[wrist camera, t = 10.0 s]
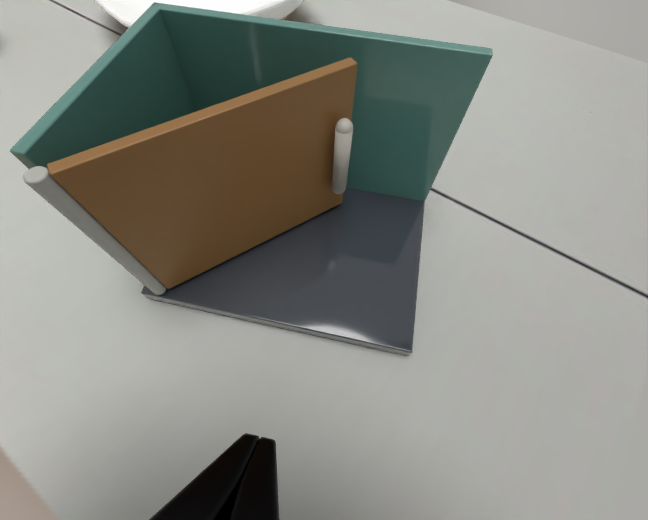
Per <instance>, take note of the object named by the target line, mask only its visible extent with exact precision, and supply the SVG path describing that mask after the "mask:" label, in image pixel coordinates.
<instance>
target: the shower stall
mask: <svg viewBox="0 0 648 520" xmlns="http://www.w3.org/2000/svg"><path fill="white" fill-rule="evenodd" d="M492 55H493V54H492V49H491V48H484V47H477V46H470V45H463V44H455V43H448V42H441V41H433V40H426V39H419V38H412V37H404V36H397V35H390V34H382V33H375V32H368V31H361V30H353V29H346V28H339V27H331V26H324V25H317V24H310V23H302V22H295V21H288V20H280V19H273V18H266V17H259V16H251V15H244V14H237V13H229V12H222V11H215V10H207V9H200V8H193V7H186V6H178V5H171V4H164V3H156V2H154V3H153V4H152V5H151V6H150V7H149V8H148V9H147V10H146V11H145V12H144V13H143V14H142V15H141V16H140V17H139V18H138V19H137V20H136V21H135V22H134V23H133V24H132V25H131V26H130V27H129V28H128V29H127V30H126V31H125V32H124V34H123V35H122V36H121V37H120V38H119V39H118V40H117V41H116V42H115V43H114V44H113V45H112V46H111V47H110V48H109V49H108V50H107V51H106V52H105V53H104V54H103V55H102V56H101V57H100V58H99V59H98V60H97V61H96V62H95V63H94V64H93V65H92V66H91V67H90V68H89V69H88V70H87V71H86V72H85V73H84V74H83V75H82V76H81V78H80V79H79V80H78V81H77V82H76V83H75V84H74V85H73V86H72V87H71V88H70V89H69V90H68V91H67V92H66V93H65V94H64V95H63V96H62V97H61V98H60V99H59V100H58V101H57V102H56V103H55V104H54V105H53V106H52V107H51V108H50V109H49V110H48V111H47V112H46V113H45V114H44V115H43V116H42V117H41V118H40V119H39V120H38V122H37V123H36V124H35V125H34V126H33V127H32V128H31V129H30V130H29V131H28V132H27V133H26V134H25V135H24V136H23V137H22V138H21V139H20V140H19V141H18V142H17V143H16V144H15V145H14V146H13V147H12V148H11V149H10V152H11V153H12V154H13V155H14V156H15V157H17V158H18V159H19V160H20V161H21V162H22V163H23V164H24V165H25V166H26V167H27V168H28V169H30V168H33V167H36V166H42V167H45V168H47V169H48V167H47V164H49V163H52V162H54V161H57V160H60V159H63V158H66V157H69V156H71V155H74V154H77V153H80V152H83V151H86V150H88V149H91V148H94V147H97V146H100V145H103V144H105V143H108V142H111V141H114V140H117V139H120V138H122V137H125V136H128V135H131V134H134V133H137V132H140V131H142V130H145V129H148V128H151V127H154V126H157V125H159V124H162V123H165V122H168V121H171V120H174V119H176V118H179V117H182V116H185V115H188V114H191V113H193V112H196V111H199V110H202V109H205V108H208V107H210V106H213V105H216V104H219V103H222V102H225V101H228V100H230V99H233V98H236V97H239V96H242V95H245V94H247V93H250V92H253V91H256V90H259V89H262V88H264V87H267V86H270V85H273V84H276V83H279V82H281V81H284V80H287V79H290V78H293V77H296V76H298V75H301V74H304V73H307V72H310V71H313V70H315V69H318V68H321V67H324V66H327V65H330V64H333V63H335V62H338V61H341V60H344V59H347V58H352V59H353V60H354V61H356V62H357V73H356V82H355V91H354V100H353V109H352V118H351V122H352V124H353V134H352V142H351V151H350V159H349V167H348V176H347V184H346V190H345V191H344V192H343V200H342V203H341V204H339V205H337V206H335V207H333V208H331V209H329V210H327V211H325V212H323V213H321V214H319V215H317V216H315V217H313V218H311V219H309V220H307V221H305V222H303V223H301V224H299V225H297V226H295V227H293V228H291V229H289V230H287V231H285V232H283V233H280V234H278V235H276V236H274V237H272V238H270V239H268V240H266V241H264V242H262V243H260V244H258V245H256V246H254V247H252V248H250V249H248V250H246V251H244V252H242V253H240V254H238V255H236V256H234V257H232V258H230V259H228V260H226V261H224V262H222V263H220V264H218V265H216V266H214V267H212V268H210V269H208V270H206V271H204V272H202V273H200V274H198V275H196V276H194V277H192V278H190V279H188V280H186V281H184V282H182V283H180V284H178V285H176V286H174V287H172V288H170V289H167V288H166V291H165V292H164V293H163V294H161V295H156V294H154V293H153V292H152V291H151V290H150V289H149V288H147V287H146V286H144V288H143V290H142V292H141V293H142V294H143V295H145V296H146V297H147V298H148V299H153V300H157V301H162V302H166V303H171V304H175V305H180V306H184V307H189V308H193V309H198V310H202V311H207V312H211V313H216V314H220V315H225V316H230V317H234V318H239V319H243V320H248V321H252V322H257V323H261V324H266V325H270V326H275V327H279V328H284V329H288V330H293V331H297V332H302V333H306V334H311V335H315V336H320V337H324V338H329V339H333V340H338V341H342V342H347V343H351V344H356V345H360V346H365V347H369V348H374V349H378V350H383V351H387V352H392V353H396V354H401V355H405V356H408V355H409V354H411V353H412V347H413V335H414V323H415V311H416V299H417V287H418V275H419V263H420V251H421V238H422V226H423V214H424V202H425V200H426V197H427V195H428V193H429V191H430V189H431V187H432V185H433V182H434V180H435V178H436V176H437V174H438V172H439V169H440V167H441V165H442V163H443V161H444V159H445V157H446V154H447V152H448V150H449V148H450V146H451V144H452V142H453V139H454V137H455V135H456V133H457V131H458V129H459V127H460V124H461V122H462V120H463V118H464V116H465V114H466V111H467V109H468V107H469V105H470V103H471V101H472V99H473V96H474V94H475V92H476V90H477V88H478V86H479V84H480V81H481V79H482V77H483V75H484V73H485V71H486V69H487V66H488V64H489V62H490V60H491V58H492Z"/></svg>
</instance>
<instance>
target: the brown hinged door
mask: <svg viewBox="0 0 648 520" xmlns="http://www.w3.org/2000/svg"><path fill="white" fill-rule="evenodd" d="M356 73H357V62H356V61H354V60H353V59H352V58H347V59H344V60H341V61H338V62H335V63H333V64H330V65H327V66H324V67H321V68H318V69H315V70H313V71H310V72H307V73H304V74H301V75H298V76H296V77H293V78H290V79H287V80H284V81H281V82H279V83H276V84H273V85H270V86H267V87H264V88H262V89H259V90H256V91H253V92H250V93H247V94H245V95H242V96H239V97H236V98H233V99H230V100H228V101H225V102H222V103H219V104H216V105H213V106H210V107H208V108H205V109H202V110H199V111H196V112H193V113H191V114H188V115H185V116H182V117H179V118H176V119H174V120H171V121H168V122H165V123H162V124H159V125H157V126H154V127H151V128H148V129H145V130H142V131H140V132H137V133H134V134H131V135H128V136H125V137H122V138H120V139H117V140H114V141H111V142H108V143H105V144H103V145H100V146H97V147H94V148H91V149H88V150H86V151H83V152H80V153H77V154H74V155H71V156H69V157H66V158H63V159H60V160H57V161H54V162H52V163H49V164H47V167H48V169H47V168H45V167H42V166H36V167H33V168H30V169H29V170H27V171H26V172H25V173H24V175H23V179H24V181H25V183H27V184H28V185H29V186H30V187H31V188H32V189H34V190H35V191H36V192H37V193H38V194H39V195H41V196H42V197H43V198H44V199H45V200H46V201H48V202H49V203H50V204H51V205H52V206H53V207H54V208H56V209H57V210H58V211H59V212H60V213H61V214H63V215H64V216H65V217H66V218H67V219H68V220H70V221H71V222H72V223H73V224H74V225H75V226H77V227H78V228H79V229H80V230H81V231H82V232H84V233H85V234H86V235H87V236H88V237H89V238H90V239H92V240H93V241H94V242H95V243H96V244H97V245H99V246H100V247H101V248H102V249H103V250H104V251H106V252H107V253H108V254H109V255H110V256H111V257H113V258H114V259H115V260H116V261H117V262H118V263H120V264H121V265H122V266H123V267H124V268H125V269H126V270H128V271H129V272H130V273H131V274H132V275H133V276H135V277H136V278H137V279H138V280H139V281H140V282H142V283H143V284H144V285H145V286H146V287H147V288H149V289H150V290H151V291H152V292H153V293H154V294H156V295H161V294H163V293H164V292H165V291H166V288H167V289H170V288H172V287H174V286H176V285H178V284H180V283H182V282H184V281H186V280H188V279H190V278H192V277H194V276H196V275H198V274H200V273H202V272H204V271H206V270H208V269H210V268H212V267H214V266H216V265H218V264H220V263H222V262H224V261H226V260H228V259H230V258H232V257H234V256H236V255H238V254H240V253H242V252H244V251H246V250H248V249H250V248H252V247H254V246H256V245H258V244H260V243H262V242H264V241H266V240H268V239H270V238H272V237H274V236H276V235H278V234H280V233H283V232H285V231H287V230H289V229H291V228H293V227H295V226H297V225H299V224H301V223H303V222H305V221H307V220H309V219H311V218H313V217H315V216H317V215H319V214H321V213H323V212H325V211H327V210H329V209H331V208H333V207H335V206H337V205H339V204H341V203H342V200H343V192H344V191H345V190H346V184H347V176H348V167H349V159H350V151H351V142H352V134H353V124H352V122H351V118H352V109H353V100H354V91H355V82H356Z"/></svg>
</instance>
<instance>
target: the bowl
mask: <svg viewBox="0 0 648 520" xmlns="http://www.w3.org/2000/svg"><path fill="white" fill-rule="evenodd" d="M95 1H96V2H97V3H98V4H99V5H100V6H101V7H102V8H103V9H104V10H105V11H106V12H107V13H108V14H109V15H110V16H112V17H113V18H114V19H116V20H117V21H119V22H120V23H121V24H123V25H124V26H126V27H128V28H129V27H130V26H131V25H132V24H133V23H134V22H135V21H136V20H137V19H138V18H139V17H140V16H141V15H142V14H143V13H144V12H145V11H146V10H147V9H148V8H149V7H150V6H151V5H152V4H153V3H154V2H156V3H164V4H171V5H178V6H186V7H193V8H200V9H207V10H215V11H222V12H229V13H237V14H244V15H251V16H259V17H266V18H273V19H280V20H285V19H286V18H287V17H288V16H289V15H290V14H291V13H292V12H293V11H294V10H295V9H296V8H297V7H298V6H299V5H300V4H301V3H302V2H303V1H304V0H95Z"/></svg>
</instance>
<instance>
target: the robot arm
mask: <svg viewBox="0 0 648 520" xmlns="http://www.w3.org/2000/svg"><path fill="white" fill-rule="evenodd" d="M149 520H279V503H278V483H277V462H276V442H275V440H273V439H269V438H265V437H261V438H259V436H256V435H252V434H248V433H246V434H243V435H242V436H241V437H240V438H239V439H238V440H237V441H236V442H234V443H233V444H232V445H231V446H230V447H229V448H228V449H227V450H226V451H224V452H223V453H222V454H221V455H220V456H219V457H218V458H217V459H216V460H215V461H213V462H212V463H211V464H210V465H209V466H208V467H207V468H206V469H205V470H203V471H202V472H201V473H200V474H199V475H198V476H197V477H196V478H195V479H194V480H192V481H191V482H190V483H189V484H188V485H187V486H186V487H185V488H184V489H182V490H181V491H180V492H179V493H178V494H177V495H176V496H175V497H174V498H173V499H171V500H170V501H169V502H168V503H167V504H166V505H165V506H164V507H163V508H161V509H160V510H159V511H158V512H157V513H156V514H155V515H154V516H153V517H152V518H150V519H149Z"/></svg>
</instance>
